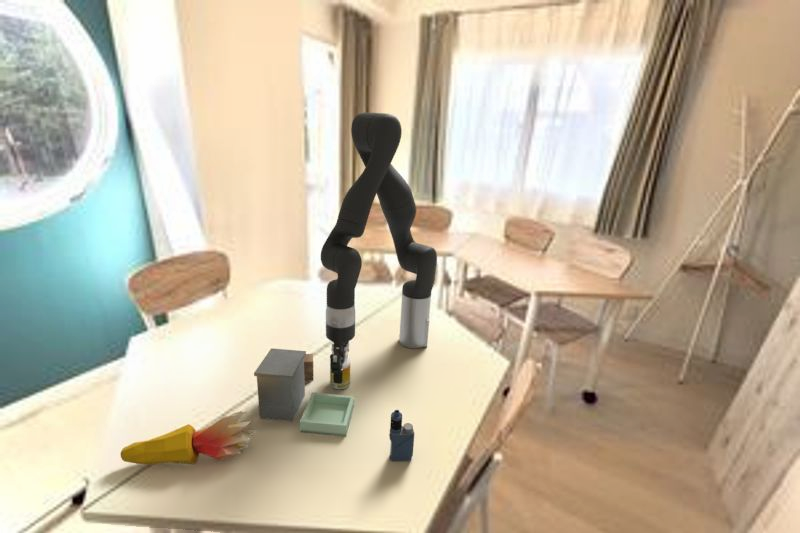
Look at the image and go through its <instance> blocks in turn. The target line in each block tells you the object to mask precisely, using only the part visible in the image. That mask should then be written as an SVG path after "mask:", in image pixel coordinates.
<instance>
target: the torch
mask: <svg viewBox="0 0 800 533" xmlns="http://www.w3.org/2000/svg"><path fill="white" fill-rule="evenodd" d="M246 413H247V410H246V411H237V412H233V413H232V414H229V415H225V416H223V417H221V418H220V419H219V420H217V421H216V422H214V423H213V424H211V425H209V426H207V427H205V428H204V429H202V430H198V431H196V429H195V427H194V426H193V425H192V424H190V423H188V424H186V425H184V426H182V427H178V428H177V429H175V430H172V431H170V432H167V433H165V434H162V435H160V436H155V437H153V438H151V439H148V440H143V441H138V442H137V441H136V442H133V443H130V444H129V445H127V446H124V447H123V448H122V450H121V451H120V458H121V460H122V461H123V462H124V463H125V462H126V463H131V464H137V465H150V466H151V465H160V464H179V463H180V464H184V465H187V464H188V465H196V464H197V462H198V458H199V455H204V456H208V457H210V458H213V459H215V460H217V461H221V460H224V459H227V458H229V457H234V456H238V455H240V454H242V452H241V451H240V449H244V448H248V446H249V445H250V444H249V443H248V441H249V440H250V438H249V437H253V436H254V435H253V434H255V433H258V431H256V430H253V429H249V428H246V427H247V426H248V425H249V424H250V423H251V422H252V420H249V421H244V422H239V421H240V420H241V419H242V418H243V416H244V415H245V414H246ZM238 422H239V423H238ZM245 428H246V429H245Z"/></svg>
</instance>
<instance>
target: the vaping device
mask: <svg viewBox="0 0 800 533" xmlns="http://www.w3.org/2000/svg"><path fill="white" fill-rule="evenodd" d="M402 423H403V414H402V413H401V412H400V409H395V410H394V411H393V412H391V414H390V426H389V427H390V428H389V435H388V436H389V440H390V449H389V450H390V451H389V459H390V461H391V462H409V461H411V460H412V458H413V456H414V442H415V431H414V426H413V424H412V423H409V422H406V423H404V424H403V426H402Z"/></svg>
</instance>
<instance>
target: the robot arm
mask: <svg viewBox="0 0 800 533" xmlns="http://www.w3.org/2000/svg"><path fill="white" fill-rule="evenodd" d="M350 130H351V139H352V143H353V144H354V147H355V149H356V151H357V153H358V155H359V158H360V159H361V161H362V163H363V165H364V167H365V168H364V169H363V171H362V173H361V174H360V175H359V176H358V178H357V179H356V181H354V182H353V184H352V185H351V186H350V188H348V190H347V192H346V194H345V195H344V197H343V198H342V202H341V206H340V208H339V209H340V210H339V212H338V216H337V219H336V223H335V225H334V226H333V228H332V229H331V231H330V233H329V235H328V236H327V237H326V240H325V241H324V244H323V245H322V248H321V251H320V261H321V262H320V263H321V264H322V266H323V268H325V269H326V270H329V271H331V272H334V273H335V274H337V278H336V279H333V280H331V281H329V282H328V283H327V286H326V306H325V307H326V308H325V337H326V338H327V339H328V340H329V341H330V342H332V344H331V349H330V350H331V354H330V356H329V361H330V362H329V365H330V364H331V373H334V383H338V384H341V383H342V371H343V363H344V362H345V358H346V351H347V352H348V353H349V351H350V341H352V340H353V339H354V338H355V336H356V309H355V308H356V305H355V304H356V303H355V297H356V294H355V292H356V291H355V289H356V286H357V284H358V280H359V277H360V273H361V269H362V265H363V263H362V262H363V261H362V256H361V254H360V252H359V251H358V250H357V249H356V248H353V247H351V246H348V245H349V243H350V242H351V240H352V239H354V238H355V239H358V238H361V237H363V235H364V233H365V229H366V226H367V223H368V220H369V216H370V213H371V210H372V207H373V204H374V201H375V197H376V196H377V199H378V202H379V205H380V207H381V208H380V209H381V210H382V213H383V215H384V218H385V220H386V222H387V226H388V228H389V232H390V235H391V239H392V241H393V245H394V250H395V254H396V258H397V261H398V264H399V266H400V267H401V269H403V270H404V271H406V272H409V273H412V274H415V276H416V277H415V279H413V280H408V281H406V282H404V283H403V284H402V290H401V291H402V292H401V304H400V305H401V308H400V324H399V336H398V338H399V343H400V345H402V346H403V347H406V348H409V349H421V348H427V347H428V342H429V341H428V340H429V330H430V329H429V328H430V314H431V313H430V310H431V300H432V291H433V288H434V285H435V278H436V268H437V263H438V254H437V250H436V249H435V248H434V247H432V246H428V245H425V244H422V243H418V242H416V241H415V240H414V238H413V234H412V232H411V229H412V228H411V227H412V225H413V223H414V221H415V218H416V216H417V205H416V202H415V199H414V198H415V197H414V196H413V192H412V188H410V185H409V184H408V183H407V181H406V179H404V177H403V176H402V175H401V174H400V173H399V172H398V170H397V169H396V168H395V167H394V166H393V164H392V162H393V159H394V158H395V157H394V156H395V155H396V153H397V151H398V148H399V146H400V142H401V139H402V124H401V122H400V120H399V118H398V117H397V116H395V115H393V114H390V113H384V112H382V113H381V112H360V113H358V114H357V115H356V116H354V118H353V120H352V122H351V128H350ZM341 357H343V359H341Z"/></svg>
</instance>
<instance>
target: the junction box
mask: <svg viewBox="0 0 800 533" xmlns="http://www.w3.org/2000/svg"><path fill="white" fill-rule="evenodd" d="M306 354H307V352H306V350H295V349H294V350H293V349H284V348H283V349H282V348H270V350H269V351H268V353H267V354H266V355H265V356H264V358H263V360H262V361H261V362H260V363H259V365H258V366H257V368H256V369H255V370H254V372H253V376H254V377H256V383H257V399H258V412H259V419H262V420H263V419H264V420H276V421H284V422H294V420H295V419H296V416H297V414H298V411H299V409H300V407H301V406H302V405H301V404H302V403H303V400H304V398H305V395H306V384H305V383H306V381H305V377H304V357H305V355H306Z"/></svg>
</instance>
